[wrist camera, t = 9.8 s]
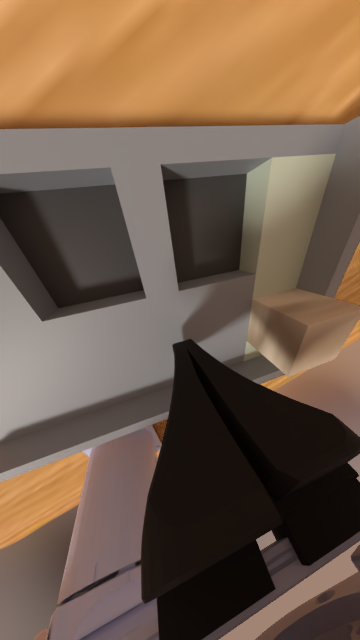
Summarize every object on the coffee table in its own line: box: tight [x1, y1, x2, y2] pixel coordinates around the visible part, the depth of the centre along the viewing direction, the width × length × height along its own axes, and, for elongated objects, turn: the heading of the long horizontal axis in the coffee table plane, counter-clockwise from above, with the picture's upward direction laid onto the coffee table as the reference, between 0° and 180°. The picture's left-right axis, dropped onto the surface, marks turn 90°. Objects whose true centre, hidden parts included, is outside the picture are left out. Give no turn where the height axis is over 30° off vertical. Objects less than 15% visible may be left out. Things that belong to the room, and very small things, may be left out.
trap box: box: [0, 116, 360, 482], centre depth 9 cm, size 16×26×4 cm, turn 97°
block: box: [247, 288, 360, 377], centre depth 10 cm, size 4×4×4 cm
